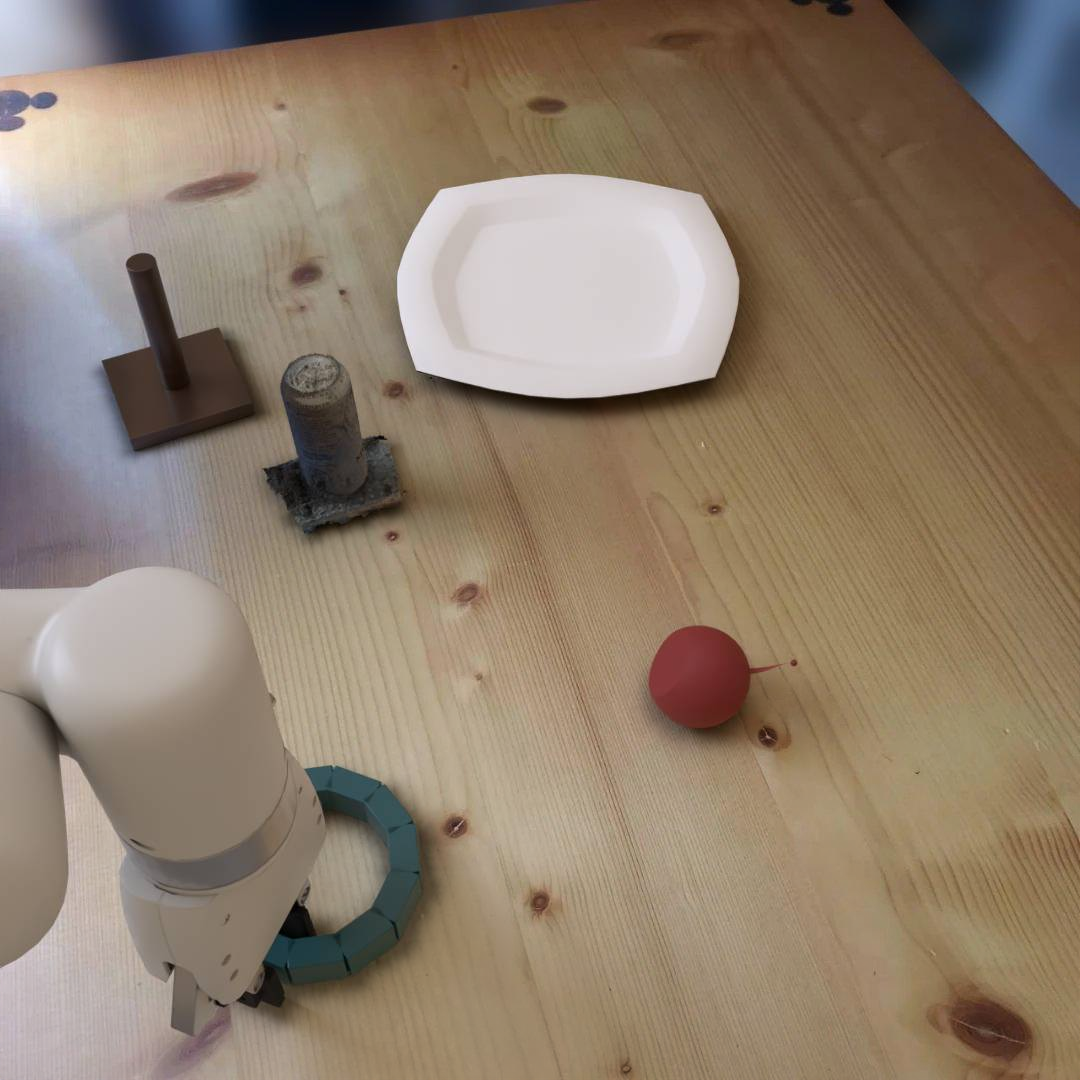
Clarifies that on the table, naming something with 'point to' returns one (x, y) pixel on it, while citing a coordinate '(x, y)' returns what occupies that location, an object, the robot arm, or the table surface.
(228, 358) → the post
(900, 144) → the table surface
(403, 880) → the ring
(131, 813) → the robot arm
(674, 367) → the plate
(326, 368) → the can on ragged base
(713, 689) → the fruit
